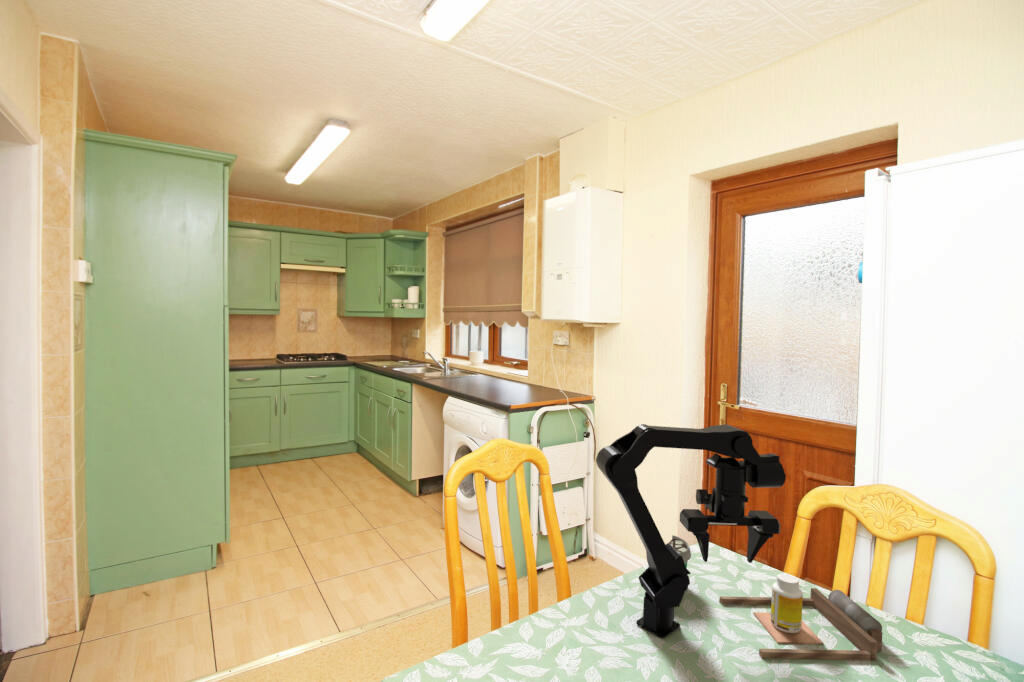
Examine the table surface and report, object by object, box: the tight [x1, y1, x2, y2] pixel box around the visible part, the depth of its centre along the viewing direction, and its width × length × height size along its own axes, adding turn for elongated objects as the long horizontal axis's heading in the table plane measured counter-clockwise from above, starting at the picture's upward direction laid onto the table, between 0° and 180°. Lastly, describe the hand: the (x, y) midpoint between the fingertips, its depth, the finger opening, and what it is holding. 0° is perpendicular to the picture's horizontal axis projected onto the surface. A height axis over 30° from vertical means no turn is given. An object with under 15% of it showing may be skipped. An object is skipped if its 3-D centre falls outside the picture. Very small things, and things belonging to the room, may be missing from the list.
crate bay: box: [719, 587, 884, 661], centre depth 105 cm, size 25×19×5 cm
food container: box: [665, 534, 692, 569], centre depth 119 cm, size 12×6×10 cm, turn 143°
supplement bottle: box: [770, 573, 804, 633], centre depth 105 cm, size 6×6×10 cm
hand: (727, 561), depth 106 cm, fingers open, 9 cm apart
